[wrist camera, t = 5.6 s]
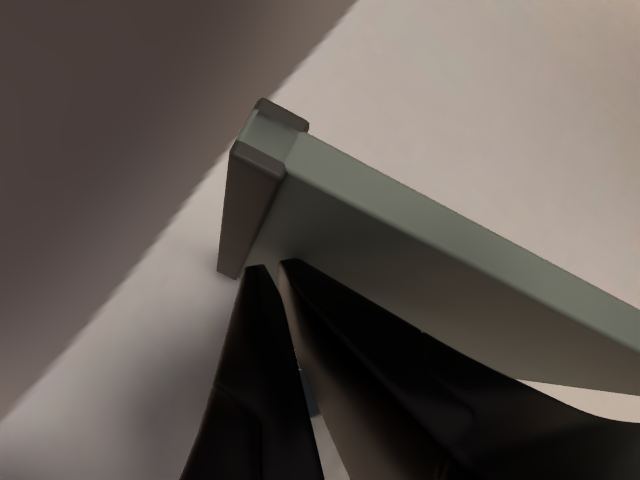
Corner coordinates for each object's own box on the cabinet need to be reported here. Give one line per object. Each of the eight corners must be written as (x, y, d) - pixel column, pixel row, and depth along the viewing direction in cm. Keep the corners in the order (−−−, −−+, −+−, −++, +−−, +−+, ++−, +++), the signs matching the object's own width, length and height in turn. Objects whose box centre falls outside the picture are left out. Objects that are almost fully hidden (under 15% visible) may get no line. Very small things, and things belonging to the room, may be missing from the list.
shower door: (432, 372, 14) (755, 423, 6) (215, 271, 13) (227, 153, 5) (440, 347, 15) (760, 361, 6) (228, 246, 14) (260, 92, 5)
